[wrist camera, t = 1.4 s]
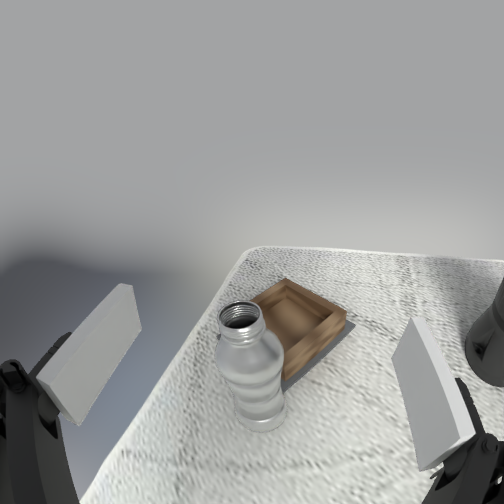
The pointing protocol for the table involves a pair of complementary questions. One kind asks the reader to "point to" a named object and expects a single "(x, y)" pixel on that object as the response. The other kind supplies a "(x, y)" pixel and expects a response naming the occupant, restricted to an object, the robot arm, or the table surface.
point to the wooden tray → (299, 322)
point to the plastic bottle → (251, 365)
